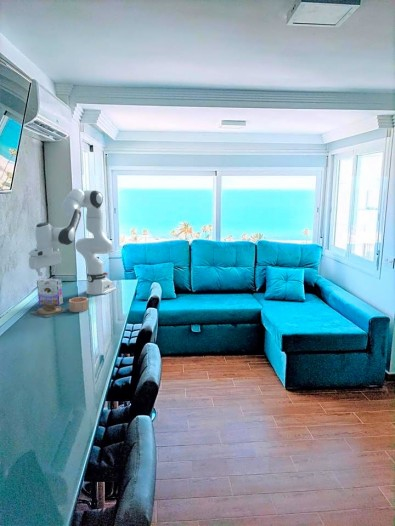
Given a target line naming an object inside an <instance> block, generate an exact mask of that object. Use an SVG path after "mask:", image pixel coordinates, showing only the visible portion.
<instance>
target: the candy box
mask: <svg viewBox="0 0 395 526" xmlns="http://www.w3.org/2000/svg"><path fill="white" fill-rule="evenodd" d="M62 283H63V282H62V278H45V277H44V278H43V277H42V278H39V279H37V280H36V286H37V296H38V298H37V299H38V305H39V306H43V303H46V302H48V303H53V304H55V306H61V305H62V304H64V300H63V299H64V298H63V285H62Z"/></svg>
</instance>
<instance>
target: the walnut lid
mask: <svg viewBox="0 0 395 526" xmlns="http://www.w3.org/2000/svg"><path fill="white" fill-rule="evenodd" d="M62 308H63V307H62V306H60V305H58V306H57V305H55V304H53V303H48V302H46V303H43V305H42V307H39V308H38V309H37V310H36V311H37V313H38V314H40V315H51V314H56V313H59V312H61V311H62Z"/></svg>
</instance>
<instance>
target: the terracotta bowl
mask: <svg viewBox="0 0 395 526" xmlns="http://www.w3.org/2000/svg"><path fill="white" fill-rule="evenodd" d="M68 305H69V306H68V307H69V308H68V310H69V312H72V313H80V312H79V311H83V312H85V311H84V310H86V311H88V310H89V309H88V308H89V298H88V297H85V296H78V297H76V296H75V297H73V298H69V299H68ZM87 309H88V310H87Z"/></svg>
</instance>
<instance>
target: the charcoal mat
mask: <svg viewBox="0 0 395 526" xmlns="http://www.w3.org/2000/svg"><path fill="white" fill-rule="evenodd" d="M68 311H69V308H68V309H67V308H63V307H62V311H61V312H59V313H56V314H51V315H40V314H38V313H37V310H34V311H30V314H31V315H34V316H39V317H43V318H46V319H49V318H52V317H53V316H56V315H60V314H62V313H65V312H68Z"/></svg>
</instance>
